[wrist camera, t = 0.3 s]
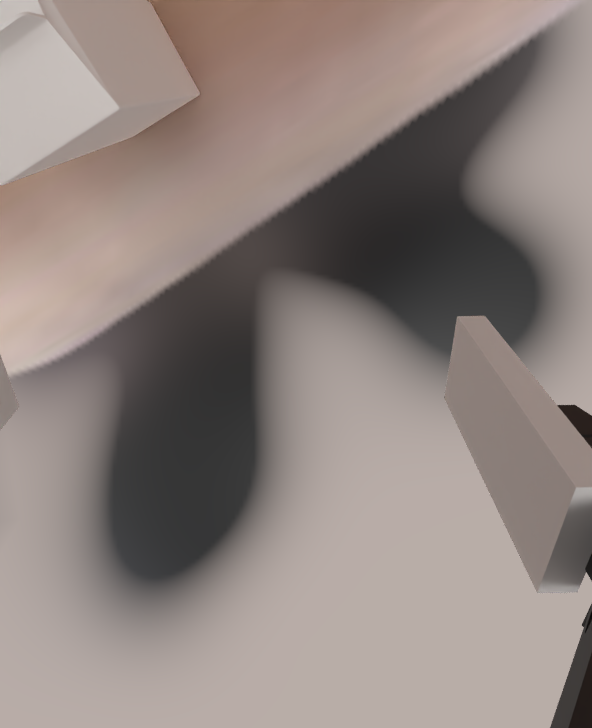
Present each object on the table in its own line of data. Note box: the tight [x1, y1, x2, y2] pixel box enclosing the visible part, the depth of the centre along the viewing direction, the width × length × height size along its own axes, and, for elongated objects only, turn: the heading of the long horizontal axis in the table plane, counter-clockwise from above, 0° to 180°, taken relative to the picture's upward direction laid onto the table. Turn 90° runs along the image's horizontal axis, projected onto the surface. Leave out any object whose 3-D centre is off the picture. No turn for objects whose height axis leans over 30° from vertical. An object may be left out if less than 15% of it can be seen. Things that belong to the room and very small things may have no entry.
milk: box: [0, 0, 200, 185], centre depth 24 cm, size 6×6×22 cm
